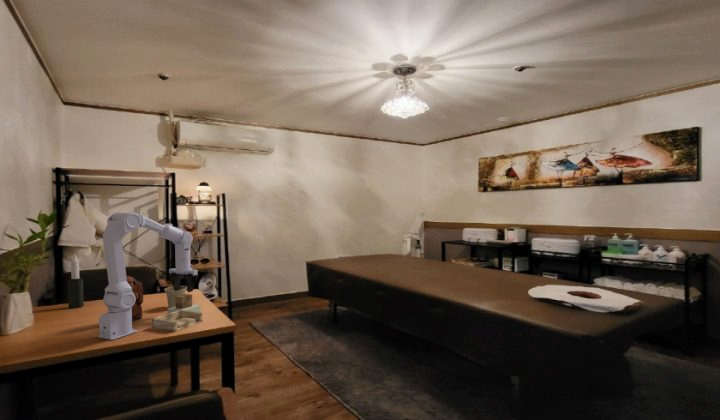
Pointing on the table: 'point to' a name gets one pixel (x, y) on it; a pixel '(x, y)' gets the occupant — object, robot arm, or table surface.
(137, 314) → the wooden figurine
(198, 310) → the sage stand
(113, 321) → the robot arm
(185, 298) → the walnut block
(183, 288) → the flower pot
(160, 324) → the birch box
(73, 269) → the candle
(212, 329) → the table surface
